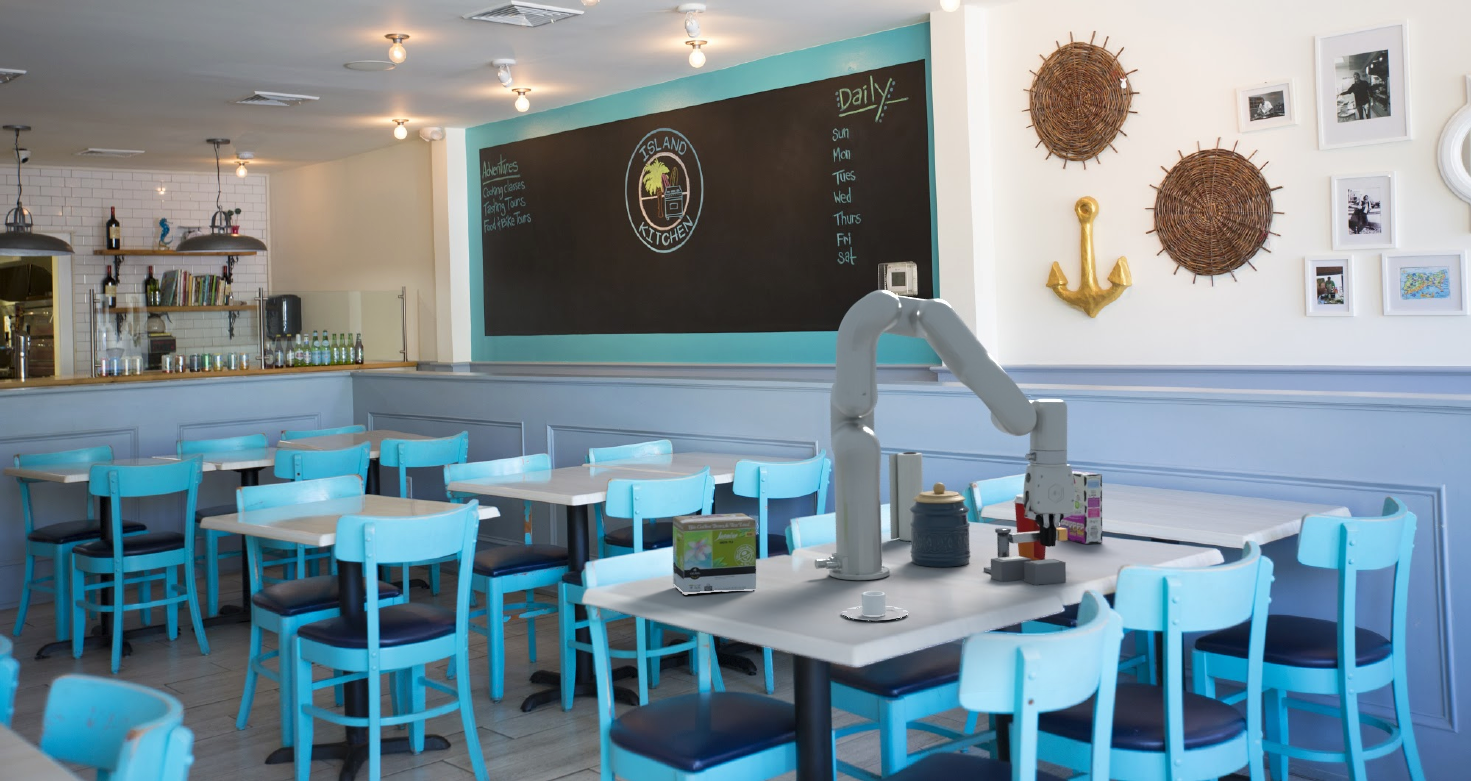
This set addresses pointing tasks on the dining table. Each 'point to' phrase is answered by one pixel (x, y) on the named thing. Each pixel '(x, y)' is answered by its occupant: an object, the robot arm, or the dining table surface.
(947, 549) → the canister
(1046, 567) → the block
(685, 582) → the tea box
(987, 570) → the pivot post
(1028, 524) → the paper cup
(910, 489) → the paper towel roll
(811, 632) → the dining table surface
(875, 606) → the candle holder
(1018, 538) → the swing arm
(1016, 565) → the block
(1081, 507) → the candy bar box
